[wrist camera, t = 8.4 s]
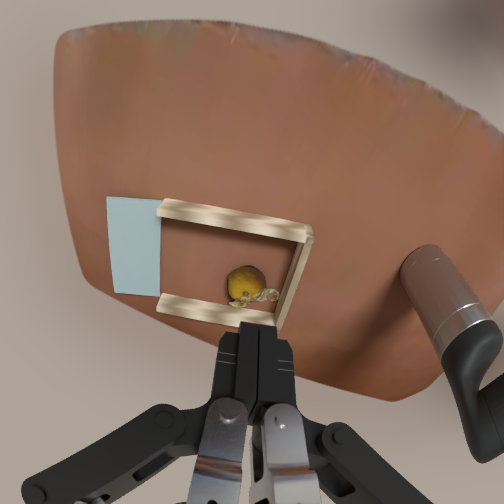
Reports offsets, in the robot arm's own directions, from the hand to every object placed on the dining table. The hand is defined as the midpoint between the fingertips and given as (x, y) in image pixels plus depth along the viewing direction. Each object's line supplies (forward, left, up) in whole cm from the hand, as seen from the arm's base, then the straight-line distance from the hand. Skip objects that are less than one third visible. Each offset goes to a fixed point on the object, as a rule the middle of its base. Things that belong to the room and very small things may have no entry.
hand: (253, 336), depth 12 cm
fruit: (-2, +20, -28) cm, 34 cm away
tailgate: (+12, +16, -26) cm, 33 cm away
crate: (+2, +16, -27) cm, 31 cm away
